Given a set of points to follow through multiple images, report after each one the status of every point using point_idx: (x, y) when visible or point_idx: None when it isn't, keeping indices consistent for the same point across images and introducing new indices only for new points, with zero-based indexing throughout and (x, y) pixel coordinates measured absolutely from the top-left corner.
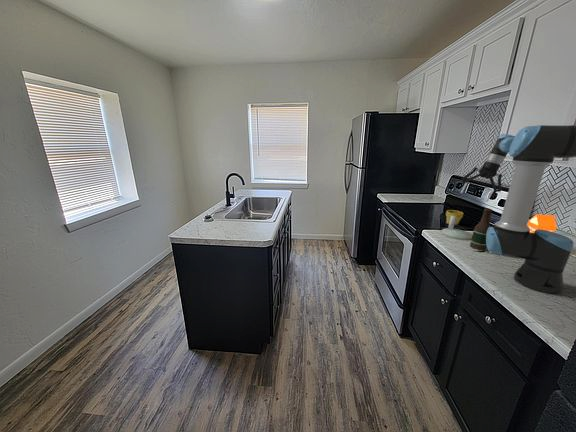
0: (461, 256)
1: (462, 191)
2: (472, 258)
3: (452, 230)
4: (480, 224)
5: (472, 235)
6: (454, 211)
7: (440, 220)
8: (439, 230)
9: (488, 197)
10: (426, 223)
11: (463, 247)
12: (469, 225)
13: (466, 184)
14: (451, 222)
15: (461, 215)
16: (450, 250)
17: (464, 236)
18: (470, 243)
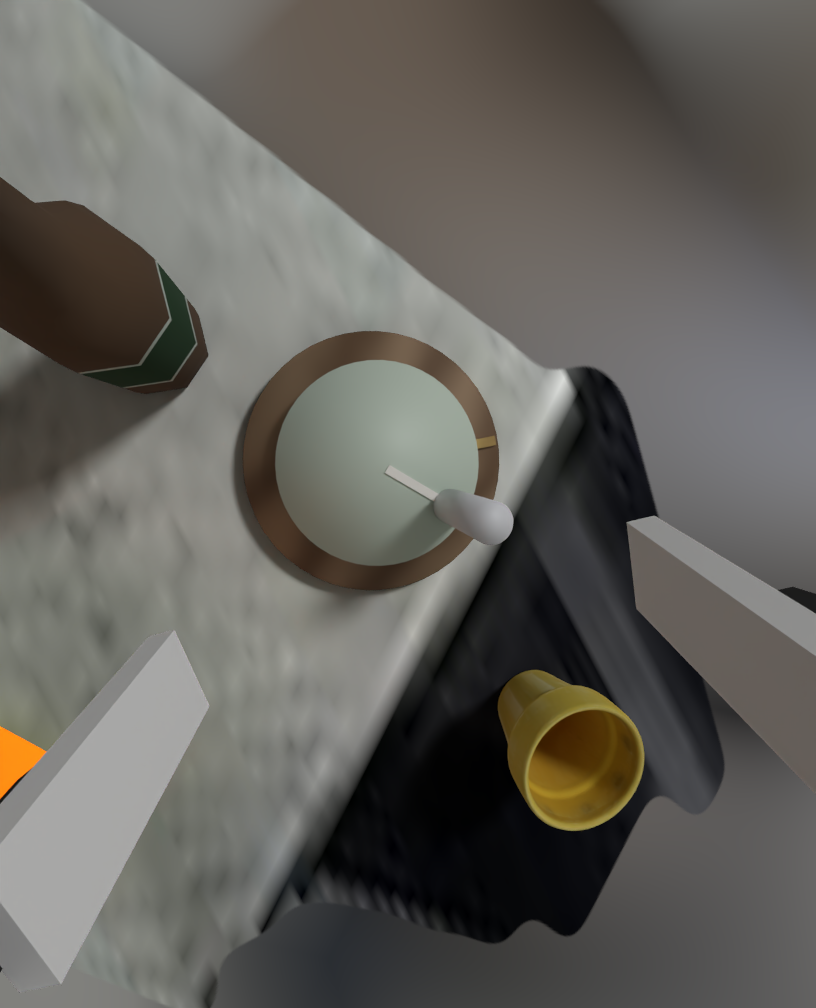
0: (135, 88)
1: (646, 548)
2: (74, 122)
3: (424, 486)
4: (59, 210)
5: (170, 279)
6: (604, 805)
7: None
8: (490, 441)
9: (117, 692)
10: None
11: (230, 294)
12: (457, 805)
13: (795, 692)
14: (466, 495)
15: (518, 758)
16: (242, 140)
17: (304, 433)
18: (190, 304)
